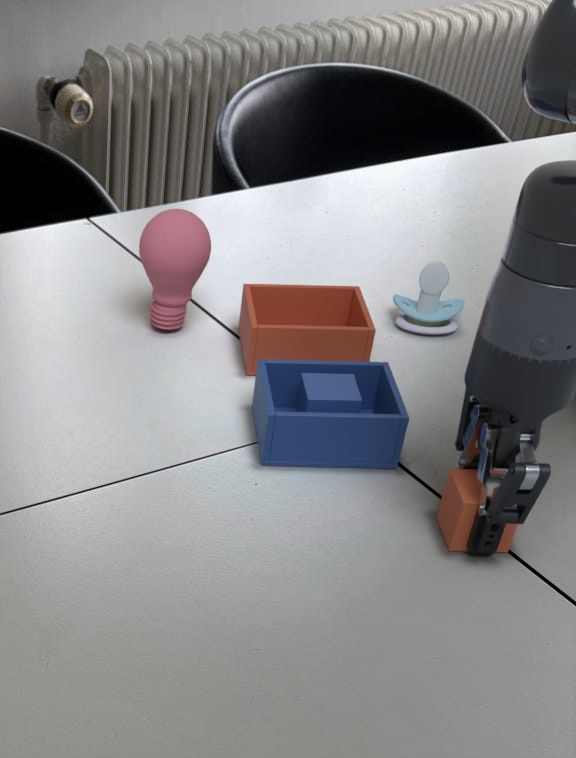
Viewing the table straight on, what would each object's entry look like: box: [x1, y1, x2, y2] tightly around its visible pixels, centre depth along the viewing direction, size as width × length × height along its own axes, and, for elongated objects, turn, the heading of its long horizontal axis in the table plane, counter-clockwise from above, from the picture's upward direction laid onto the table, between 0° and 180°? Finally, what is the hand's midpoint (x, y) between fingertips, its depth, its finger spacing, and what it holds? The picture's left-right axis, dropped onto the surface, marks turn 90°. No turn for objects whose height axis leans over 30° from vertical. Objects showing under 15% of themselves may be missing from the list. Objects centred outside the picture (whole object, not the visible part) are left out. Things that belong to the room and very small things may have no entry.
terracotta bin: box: [237, 283, 377, 376], centre depth 103 cm, size 12×10×5 cm
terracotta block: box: [435, 468, 519, 553], centre depth 81 cm, size 5×5×5 cm
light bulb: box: [138, 208, 212, 331], centre depth 105 cm, size 7×7×12 cm
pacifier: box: [392, 261, 466, 336], centre depth 108 cm, size 7×6×6 cm
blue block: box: [295, 373, 362, 413], centre depth 91 cm, size 5×5×5 cm
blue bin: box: [251, 359, 410, 470], centre depth 91 cm, size 12×10×5 cm
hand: (472, 530), depth 82 cm, fingers closed on terracotta block, 4 cm apart
